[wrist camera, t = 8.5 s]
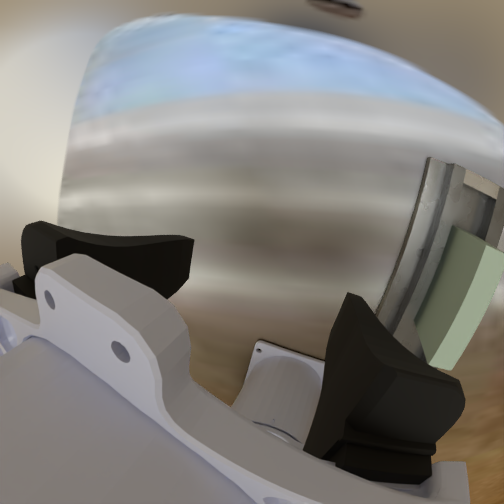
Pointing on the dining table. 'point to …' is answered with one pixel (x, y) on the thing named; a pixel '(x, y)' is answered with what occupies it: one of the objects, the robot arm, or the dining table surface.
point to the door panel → (457, 297)
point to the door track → (437, 240)
